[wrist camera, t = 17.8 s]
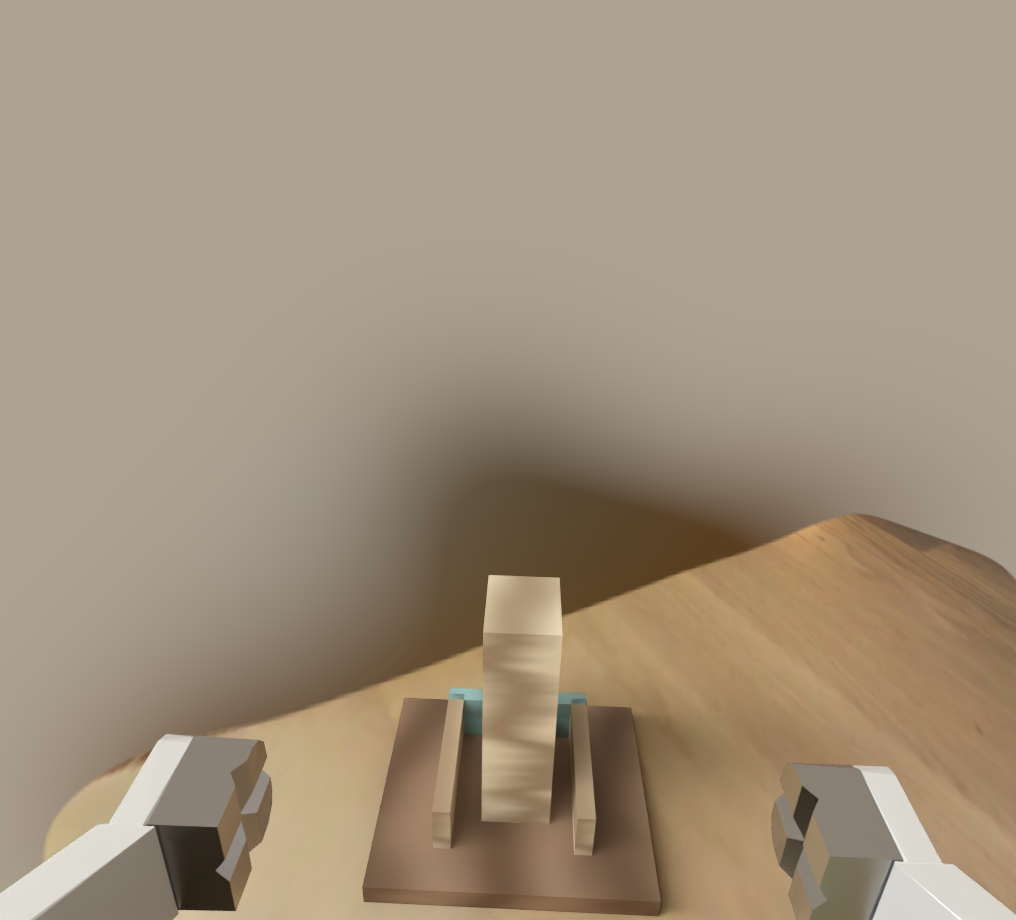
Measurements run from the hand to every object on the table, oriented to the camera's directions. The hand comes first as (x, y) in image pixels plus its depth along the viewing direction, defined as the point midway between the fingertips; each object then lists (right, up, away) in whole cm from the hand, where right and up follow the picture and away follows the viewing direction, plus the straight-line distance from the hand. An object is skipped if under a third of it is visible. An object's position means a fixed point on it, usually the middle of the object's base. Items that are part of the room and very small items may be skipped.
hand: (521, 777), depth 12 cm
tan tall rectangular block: (0, -15, +34) cm, 37 cm away
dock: (0, -16, +35) cm, 38 cm away
